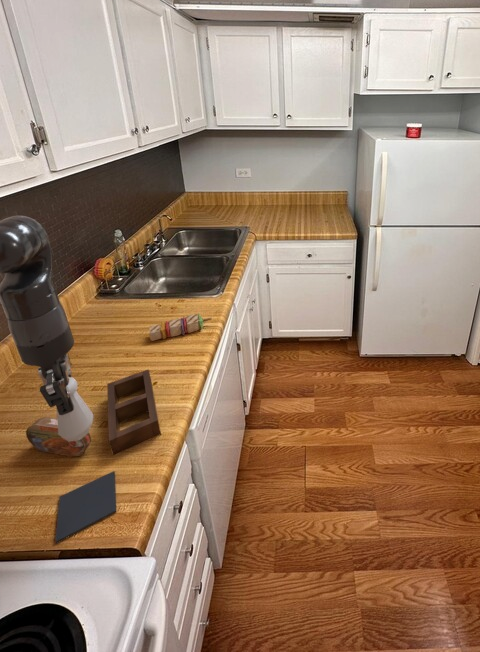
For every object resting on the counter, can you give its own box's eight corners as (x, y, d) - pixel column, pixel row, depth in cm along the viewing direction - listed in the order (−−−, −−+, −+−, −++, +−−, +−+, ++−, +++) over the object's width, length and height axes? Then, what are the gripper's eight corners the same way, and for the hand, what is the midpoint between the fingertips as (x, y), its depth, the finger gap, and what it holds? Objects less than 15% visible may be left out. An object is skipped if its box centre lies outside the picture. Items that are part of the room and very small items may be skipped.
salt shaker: (81, 415, 70) (65, 368, 66) (102, 423, 69) (87, 375, 64) (54, 441, 65) (34, 391, 60) (76, 449, 63) (57, 399, 59)
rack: (113, 455, 78) (108, 441, 76) (111, 397, 93) (107, 383, 91) (160, 434, 83) (157, 420, 81) (151, 382, 98) (148, 369, 96)
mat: (55, 543, 63) (55, 542, 62) (60, 498, 70) (59, 496, 70) (116, 512, 67) (115, 510, 67) (114, 472, 75) (114, 470, 74)
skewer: (151, 345, 113) (148, 333, 111) (151, 333, 118) (148, 322, 116) (213, 329, 121) (212, 317, 119) (210, 319, 126) (209, 308, 125)
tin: (30, 450, 79) (19, 425, 76) (42, 437, 82) (32, 413, 79) (87, 459, 77) (78, 434, 74) (97, 446, 80) (88, 421, 77)
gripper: (21, 315, 61) (48, 384, 68) (4, 364, 50) (38, 442, 56) (70, 303, 65) (91, 370, 71) (65, 346, 54) (90, 422, 60)
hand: (67, 402), depth 64 cm, fingers closed on salt shaker, 4 cm apart
